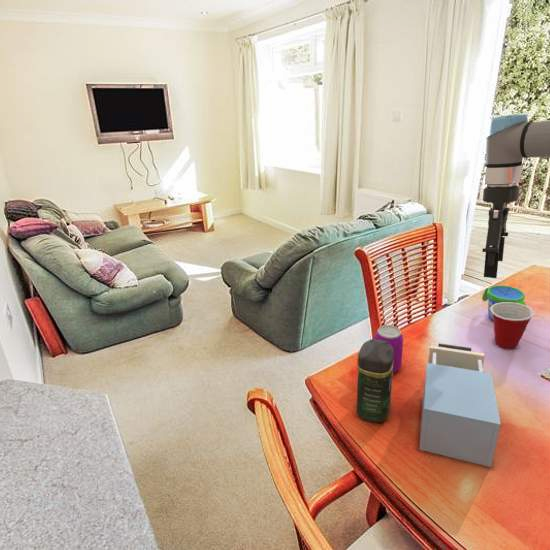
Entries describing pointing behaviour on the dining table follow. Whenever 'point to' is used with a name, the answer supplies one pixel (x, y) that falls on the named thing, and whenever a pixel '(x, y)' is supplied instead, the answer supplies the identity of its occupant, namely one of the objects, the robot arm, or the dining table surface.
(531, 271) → the dining table surface
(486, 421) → the cabinet
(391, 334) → the beverage can
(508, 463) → the dining table surface
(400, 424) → the dining table surface
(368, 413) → the coffee jar
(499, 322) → the plastic cup
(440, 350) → the drawer
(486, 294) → the snack cup
